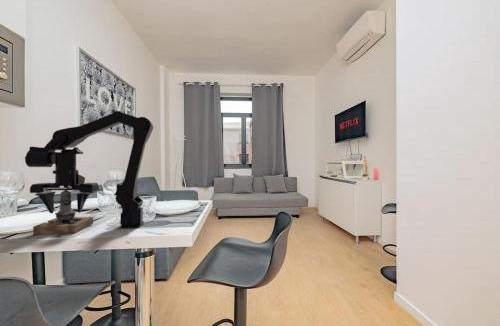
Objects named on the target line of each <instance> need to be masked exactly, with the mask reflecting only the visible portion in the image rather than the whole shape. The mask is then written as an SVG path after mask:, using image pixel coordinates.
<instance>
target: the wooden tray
mask: <svg viewBox="0 0 500 326" xmlns="http://www.w3.org/2000/svg"><path fill="white" fill-rule="evenodd" d="M70 220H73V221H75V223H73V224H57V225H56V223H58V222H60V220H58V219H57V218H56V217H54V218H52V219H50V220H48V221H47V222H42V223H39V224H37V225H36V224H35V226H34V225H33V231H32V232H33V233H32V234H33V236H34V235H60V234H61V235H65V234H67V235H68V234H76V233H79V232H81V231H82V230H83V229H86V228H87V227H89V226H91V225H93V224H94V217H93V216H74V218H73V219H70Z"/></svg>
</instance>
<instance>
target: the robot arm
mask: <svg viewBox="0 0 500 326" xmlns="http://www.w3.org/2000/svg"><path fill="white" fill-rule="evenodd" d="M121 124H122V125H125V126H126V127H129V128H132V135H133V143H132V147H131V152H130V156H129V159H128V163H127V166H126V171H125V175H124V176H125V177H124V179H123V181H122V182H119V183H117V184H116V188H115V193H114V197H115V202H116V203H117V204H118V205H119V206H120V207H121V213H120V216H119V217H120V222H119V223H120V226H119V228H140V227H141V226H143V224H144V223H145V221H144V220H143V219H144V218H143V216H144V214H143V209H144V208H143V207H142V205H143V203H144V200H143V199H142V198H141V197H140V196H138V178H139V173H140V168H141V164H142V160H143V158H144V157H143V156H144V153H145V148H146V144H147V142H148V141H149V139H150V138H151V135H152V133H153V130H154V125H153V123H152V121H150V119H148V118H147V117H145V116H139V117H136V116H134V115H130V114H128V113H125V112H122V111H120V110H115V111H114V112H112V113H109V114H107V115H105V116H103V117H99V118H97V119H95V120H92V121H89V122H88V123H87V122H86V123H85V124H82V125H79V126H73V127H67V128H66V127H65V128H62V129H57V130H56V131H54V132H53V133H52V137H51V139H50V140H49V141H48V142H47V143H46V145H44V147H41V146H40V147H39V146H29V148H28V149H29V150H27V152H26V155H25V157H24V162H25V164H26V166H27V167H29V168H51V167H53V166H54V165H55V167H54V170H52V175H55V177H54V180H55V182H38V183H33V184H31V186H30V187H29V194H34V195H35V196H38V198H39V199H40V200H41V201H42V202H43V204H44V205H45V207H46V209H47V210H48V212H49V213H50V214H54V212H55V205H54V203H55V199H54V197H55V194H56V191H65V190H67V191H79V192H77V193H76V203H77V204H76V205H77V212H78V213H79V214H80V213H82V211H83V208H84V206H85V203H86V202H87V199H88V198H89V196H90V195H91V194H94V193H95V192H99V190H100V185H99V184H98V183H97V182H85V180H86V177H85V176H83V175H80V174H79V169H77V155H84V152H83V151H82V150H81V149H80V148H79V147H77V146H78V145H80V144H82V143H83V142H84V141H86V139H88V138H90V137H92V136H93V135H96V134H99V133H101V132H103V131H106V130H108V129H111V128H114V127H116V126H118V125H121Z"/></svg>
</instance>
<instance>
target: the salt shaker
mask: <svg viewBox="0 0 500 326" xmlns="http://www.w3.org/2000/svg"><path fill="white" fill-rule="evenodd" d="M71 193H72V192H71V191H70V190H62V191H61V192H60V201H58V203H59V211H57V212H55V213H54V215H55V218H57V219H58V220H60V222H58V223H56V225H57V224H73V223H75V221H73V220H70V219H73V218H74V217H76V213H77V211H76V210H73V209H72V203H73V201H72V194H71Z"/></svg>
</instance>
